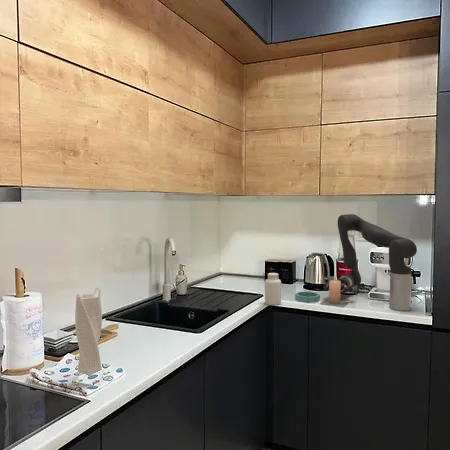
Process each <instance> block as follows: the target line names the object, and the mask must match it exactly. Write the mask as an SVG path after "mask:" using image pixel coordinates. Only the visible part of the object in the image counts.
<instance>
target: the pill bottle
mask: <svg viewBox="0 0 450 450" xmlns="http://www.w3.org/2000/svg"><path fill="white" fill-rule="evenodd" d="M264 292H265V293H264V303H265V305H269V306H278V305H281V304H282V281H281V279H279V273H277V272H269V273H267V279H265V280H264Z"/></svg>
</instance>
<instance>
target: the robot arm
mask: <svg viewBox="0 0 450 450" xmlns="http://www.w3.org/2000/svg"><path fill="white" fill-rule="evenodd" d="M337 230H338V235H339V239H340V243H341V246H342V247H341V248H342V257H343V259H342V260H343V264H344V263H345V266H346V267H347V268H346V269H348V268H349V270H351V271H352V272H350V273H351V274H348V275H346V274H343V273H342V274H343V275H342V274H341V277H339V278H337V279H336V280H339V281H341V294H346V293H353V292H354V288H355V287H354V286H359V285H360V284H361V283H362V276H361V274H360V271H359V268H358V264H357V263H358V262H357V252H356V249H355V247H354V246H353V244H352V243H351V241H350V237H349V232H350V231H351V232H352V231H354V232H359V233H360V234H361V235H362V238H363V239H364V240H365V241H367V242H369V243H370V244H372V245H375V246H377V247H382V248H388V267H389V271H390V273H389V276H390V277H389V298H388V299H389V309H390V310H391V309H392V310H394V311H403V312H405V311H407V312H408V311H410V310H411V308H412V288H411V287H412V267H411V266H409V265H406V264H405V259H410V258H411V259H412V258H413V257H414V256H416V254H417V252H418V249H417V245H416V244H415V241H413V240H411V238H410V239H409V238H406V237H403V236H400V235H397V234H394V233H392V232H391V231H389V230H386V229H384V228H382V227H381V226H378V225H376V224H373V223H371V222H368V221H367V220H364V219H363V218H362V217H360V216H358V215H357V214H353V213H351V214H349V213H348V214H340V215H339V216H338V218H337ZM323 290H324V291H325V292H329V282H326V283H324V284H323Z"/></svg>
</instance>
